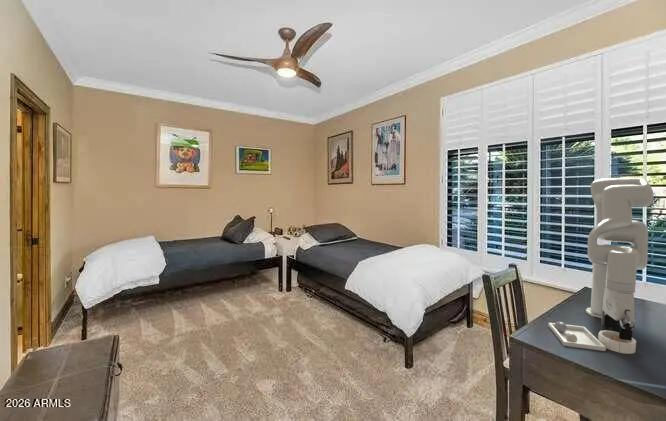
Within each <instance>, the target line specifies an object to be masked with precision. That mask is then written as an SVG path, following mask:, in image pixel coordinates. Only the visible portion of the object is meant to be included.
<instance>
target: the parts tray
mask: <svg viewBox="0 0 666 421" xmlns="http://www.w3.org/2000/svg"><path fill="white" fill-rule="evenodd" d="M555 323H556V322H548V327H549V329H550V330H551V331H552V332H553V333H554V335H555V337H557V339H558V340H559V341H560V343H561V344H562V345H563V346H565V347H571V348H576V349H577V348H579V349H580V348H581V349H587V350H594V351H601V352H607V351H606V350H607V348H606V347H605V346H604V345H603V344H602V343H601V342H600V341H599V340H598V338H597V337H596V336H595V335H593V333H592V332H591V331H590V330H588V328H586V327H585V326H582V325H581V326H580V325H573V324H565V325H566V326H567V331H566V332H560V331H558V330H557V329H556V328H555ZM568 333H572V334H574V335H576V337H577V342H569V341H567V340H566V338H565V336H566V334H568Z"/></svg>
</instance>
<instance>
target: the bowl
mask: <svg viewBox="0 0 666 421" xmlns="http://www.w3.org/2000/svg"><path fill="white" fill-rule="evenodd" d="M611 336H619V332H615V331H607V330H604V331H601V330H600V331H599V332H598V334H597V337H598V338H597V339H598V340H599V341H600V342H601V343H602V344H603V345H604V346H605V347H606V350H610V351H613V352H614V353H615V352H616V353H620V354H626V355H627V354H629V355H630V354H635V353H636V350H637V349H636V348H637V340H636V339H635V338H633V337H632V340H631V341H629V340H626V343H625V342H618V341H615V340H611Z"/></svg>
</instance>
